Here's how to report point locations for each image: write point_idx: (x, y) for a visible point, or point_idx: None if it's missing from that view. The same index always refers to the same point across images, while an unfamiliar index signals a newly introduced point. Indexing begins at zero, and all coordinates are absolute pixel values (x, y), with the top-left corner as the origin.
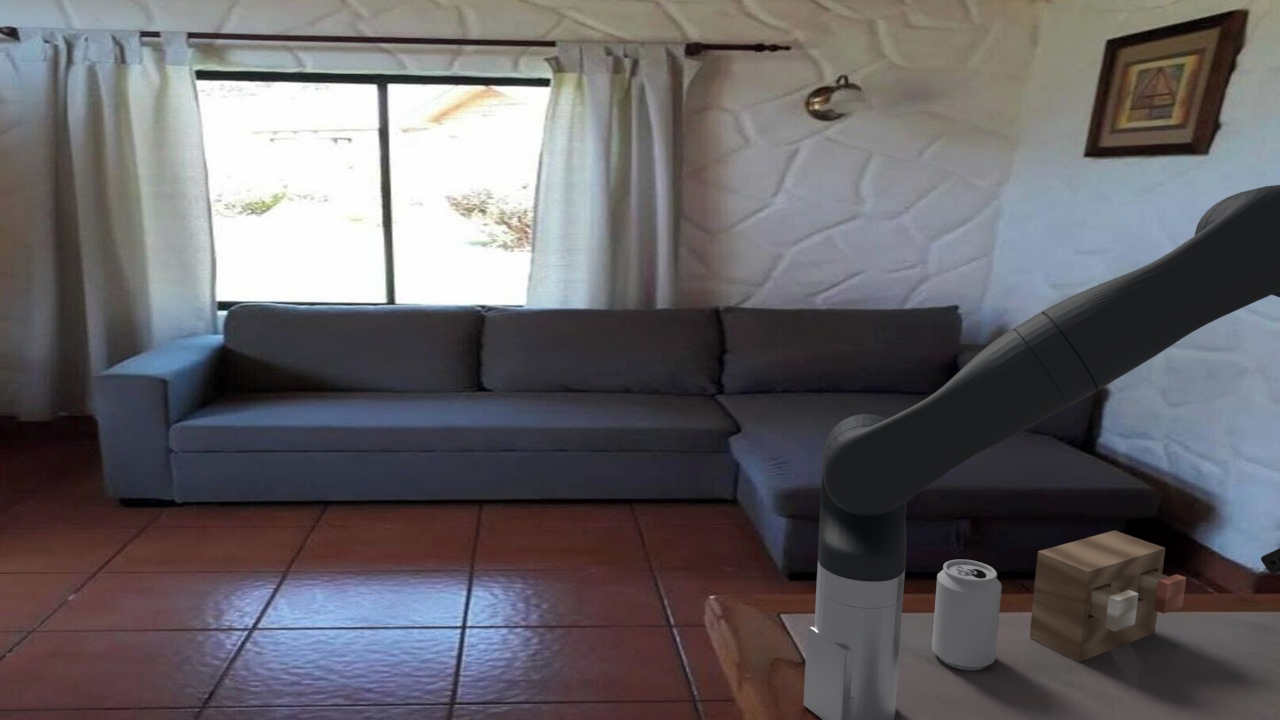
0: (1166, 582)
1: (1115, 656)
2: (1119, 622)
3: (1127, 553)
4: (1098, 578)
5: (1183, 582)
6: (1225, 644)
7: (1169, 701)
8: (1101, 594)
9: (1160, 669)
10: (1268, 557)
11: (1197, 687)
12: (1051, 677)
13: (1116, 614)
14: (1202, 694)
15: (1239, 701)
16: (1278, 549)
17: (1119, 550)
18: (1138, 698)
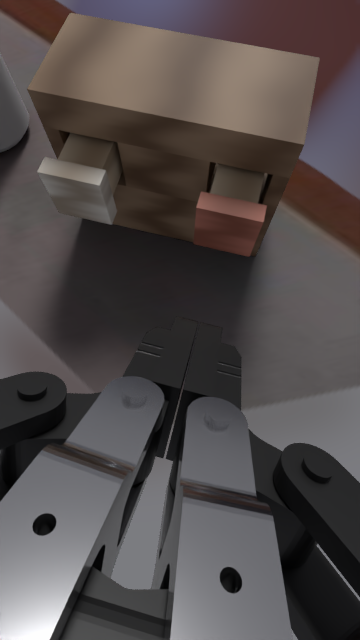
0: (201, 203)
1: (137, 242)
2: (64, 206)
3: (197, 106)
4: (71, 117)
5: (253, 225)
6: (307, 335)
7: (56, 326)
8: (66, 148)
9: (144, 292)
10: (145, 336)
11: (126, 342)
12: (17, 209)
13: (49, 191)
14: (110, 352)
15: None
16: (163, 352)
17: (201, 93)
18: (36, 296)
